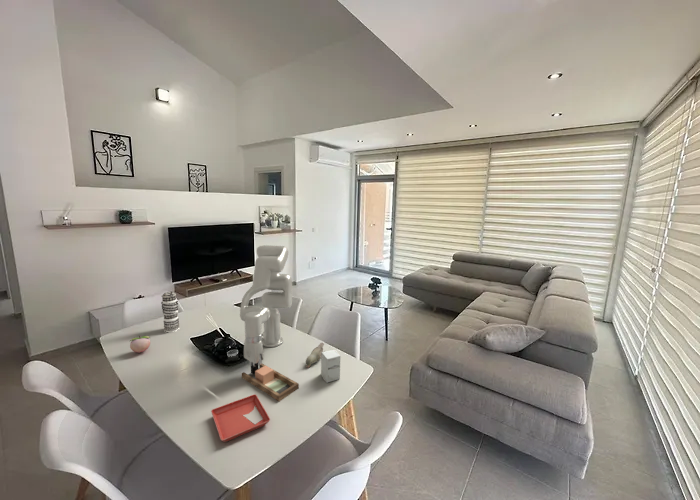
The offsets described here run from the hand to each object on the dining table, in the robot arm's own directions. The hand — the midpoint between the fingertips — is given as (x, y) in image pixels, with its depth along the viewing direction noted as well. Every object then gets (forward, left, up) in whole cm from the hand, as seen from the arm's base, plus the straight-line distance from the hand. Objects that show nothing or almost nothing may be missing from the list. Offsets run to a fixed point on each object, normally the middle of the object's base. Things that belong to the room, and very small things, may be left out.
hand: (254, 372), depth 146 cm
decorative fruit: (-66, -26, -2) cm, 71 cm away
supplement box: (+30, +22, -2) cm, 37 cm away
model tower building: (-83, -3, -2) cm, 83 cm away
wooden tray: (+11, 0, -2) cm, 11 cm away
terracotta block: (+8, 0, -1) cm, 8 cm away
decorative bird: (+14, +28, -2) cm, 32 cm away
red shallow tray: (+21, -22, -2) cm, 31 cm away
